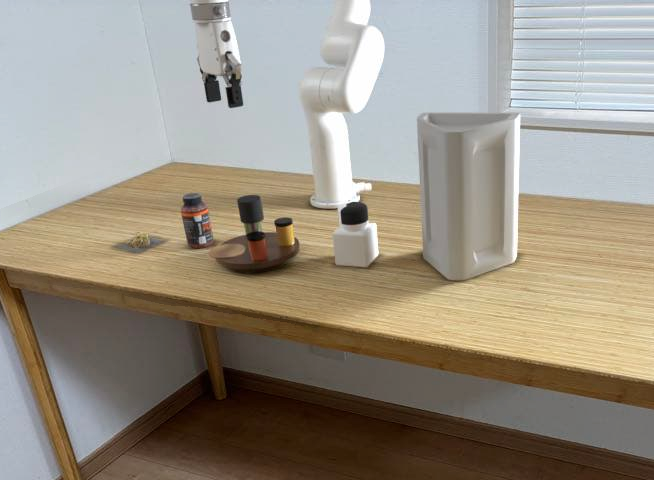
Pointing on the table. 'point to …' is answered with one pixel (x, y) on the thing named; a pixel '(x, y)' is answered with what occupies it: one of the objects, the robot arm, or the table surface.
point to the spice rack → (257, 240)
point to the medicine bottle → (355, 236)
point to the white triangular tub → (469, 191)
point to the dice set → (139, 243)
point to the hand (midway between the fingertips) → (225, 104)
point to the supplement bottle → (196, 221)
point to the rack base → (260, 268)
